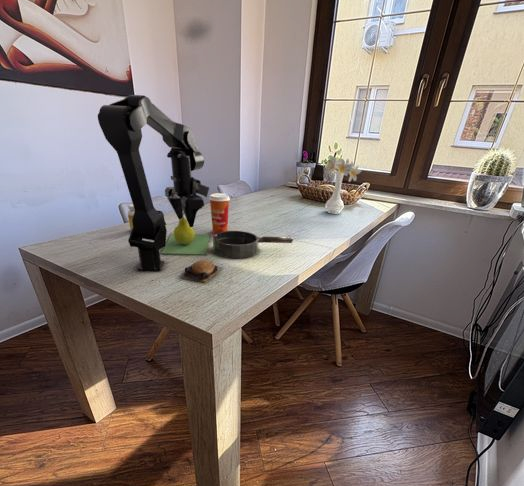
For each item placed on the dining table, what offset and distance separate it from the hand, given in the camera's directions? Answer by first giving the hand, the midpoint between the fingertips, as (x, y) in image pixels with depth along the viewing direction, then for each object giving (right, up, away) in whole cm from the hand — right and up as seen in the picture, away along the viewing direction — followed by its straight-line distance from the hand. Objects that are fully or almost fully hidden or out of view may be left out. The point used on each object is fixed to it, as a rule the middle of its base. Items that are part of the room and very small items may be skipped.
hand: (185, 223), depth 105 cm
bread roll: (+8, -19, -15) cm, 26 cm away
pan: (+17, -9, +1) cm, 19 cm away
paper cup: (+9, +1, +17) cm, 19 cm away
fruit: (-1, -7, +3) cm, 7 cm away
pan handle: (+30, -6, +1) cm, 31 cm away
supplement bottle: (-21, +1, +13) cm, 25 cm away
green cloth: (0, -6, +4) cm, 7 cm away
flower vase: (+63, +22, +54) cm, 86 cm away
